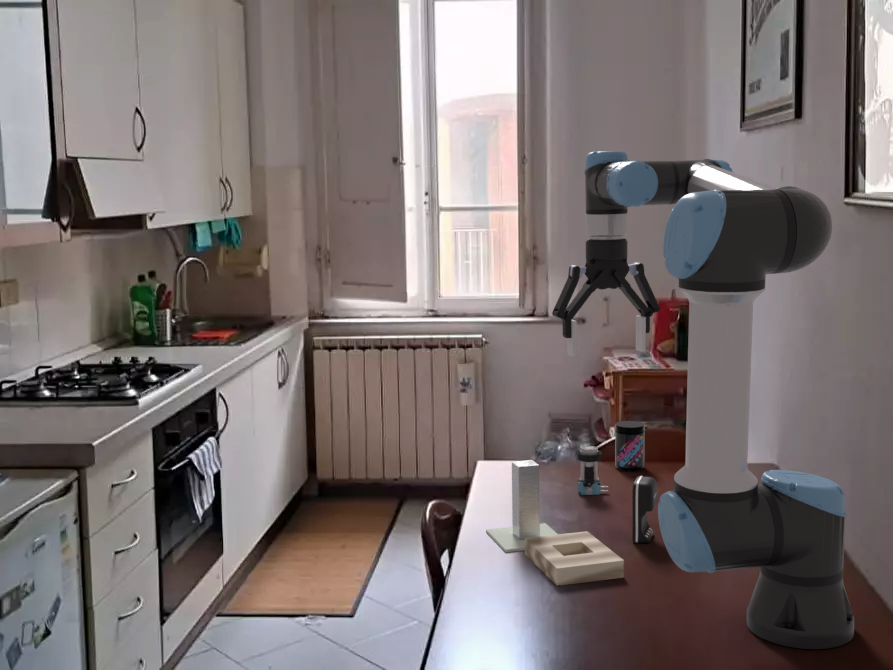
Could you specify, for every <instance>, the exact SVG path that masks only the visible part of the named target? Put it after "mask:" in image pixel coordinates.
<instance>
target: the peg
mask: <svg viewBox="0 0 893 670" xmlns="http://www.w3.org/2000/svg"><path fill="white" fill-rule="evenodd" d="M540 498H541V497H540V465H539V464H538V463H537V462H535V461H534V460H533V459H528V460H527V459H526V460H517V461H511V501H512V502H511V503H512V505H511V506H512V507H511V508H512V510H511V511H512V512H511V513H512V514H511V515H512V519H511V520H512V527H513V535H514V536H515V537H517V538H518V539H519V540H525V538H531V537H540V524H541V521H540V517H541V516H540V515H541V513H540V509H541V508H540V505H541V504H540Z"/></svg>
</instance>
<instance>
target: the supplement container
mask: <svg viewBox="0 0 893 670" xmlns="http://www.w3.org/2000/svg"><path fill="white" fill-rule="evenodd" d="M645 429H646V426H645V423H644V422H642V421H638V420H637V421H635V420H623V421H621V420H620V421H617V422H615V425H614V432H615V434H614V435H615V436H614V437H615V438H614V439H615V442H614V443H615V444H614V448H615V449H614V451H615V452H614V453H615V454H614V455H615V456H614V457H615V458H614V460H615V461H614V464H615V466H614V467H616V469H617V470H619V471H623V472H637V471H641V470H643V469H644V467H645V431H646V430H645Z"/></svg>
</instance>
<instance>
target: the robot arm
mask: <svg viewBox="0 0 893 670" xmlns="http://www.w3.org/2000/svg"><path fill="white" fill-rule="evenodd" d="M584 178H585V182H584V183H585V235H586V236H587V237H589V238H587V239H586V241H585V265H584V266H579V265H573V264H571V265H570V266H569V268H568V276H567V279H566V281H565V284H564V286H563V288H562V290H561V292H560V295H559V297H558V299H557V301H556V304H555V305H554V308H553V310H552V312H551V315H552V316H553V317H556V318H559V319H561V320H562V336H563V338H565V339H566V344H567V345H566V346H567V348H566V349H567V350H566V351H567V356H570V357H572V358H575V357H577V355H578V353H577V351H578V349H577V346H578V343H577V341H578V339H577V338H578V337H577V333H578V332H577V330H578V329H577V327H578V326H577V324H578V322H577V320H575V319H574V317H575V316H576V315H577V314H578V312H579V311H580V310H581V308H582V307H583V306H584V304H585V303H587V301H588V299H589V298H590V296H591V294H593V293H595V292H596V290H606V289H610V290H615V289H616V290H617V289H619V290H620V291H621V292H622V293H623V295H624V296H625V297H626V298H627V300H629V302H630V303H631V304H632V306H633V307H634V308H635V309H636V311H638V313H639V314H640V315H635V351H638V352H641V353H646V352H647V351H646V347H647V345H646V341H647V340H646V339H647V337H646V334H649V333H650V331H651V317H652V316H653V315H654V314H655V313H660V310H661V307H660V305H659V303H658V301H657V299H656V296H655V294H654V292H653V290H652V288H651V286H650V283H649V282H648V279H647V277H646V274H645V265H644V264H643V263H641V262H637V261H636V262H633V263H631V264H629V262H628V240H627V238H625V236H627V235H628V212H629V211H628V208H630V207H640V206H660V205H661V206H662V205H664V206H665V205H674V207H673V208H672V210H671V211H670V213H669V216H668V218H667V221H666V225H665V229H664V234H663V242H662V243H663V244H662V245H663V246H662V250H663V251H662V252H663V253H662V255H663V258H665V260H664V264H665V268H666V270H667V272H668V274H669V275H670V276H672V277H673V278H676V279H678V290H679V291H680V292H681V293H682V294H683V295H684V296H685V298H687V299H688V305H689V307H688V308H689V309H688V310H689V311H688V339H687V340H688V342H687V343H688V344H687V346H688V347H687V377H686V378H687V381H686V382H687V383H686V386H687V388H686V422H685V423H686V424H685V428H686V429H685V459H684V460H685V464H684V466H683V467H681V468H680V469H679V470H678V471H677V472H676V473H675V474H674V476H673V477H674V478H673V490H668V491H666V492H664V493H662V494H661V495H660V497H659V500H658V505H657V516H658V517H657V518H658V524H659V529H660V534H661V537H662V540H663V544H664V546H665V548H666V551H667V553H668V555H669V557H670V558H671V560H672V562H674V564H675V566H677V567H678V568H679V569H680V570H682V571H683V572H688V573H710V574H714V573H715V572H721V571H731V570H741V569H750V568H751V569H752V568H759V576H758V579H757V581H756V584H755V586H754V589H753V592H752V595H751V598H750V600H749V601H750V602H749V603H748V605H747V609H746V625H747V627H748V629H749V631H751V633H753V634H754V635H755V636H757V637H759V638H760V639H763V640H764V641H766V642H767V641H768V642H770V643H773V644H776V645H780V646H784V647H789V648H794V649H803V650H805V649H806V650H822V649H824V650H825V649H833V648H837V647H840V646H843V645H846V644H847V643H849V642H850V641H852V640H853V638H854V636H855V616H854V613H853V610H852V607H851V604H850V601H849V598H848V595H847V591H846V587H845V585H844V553H845V531H846V529H845V527H846V517H847V512H846V510H847V509H846V508H847V507H846V497H845V496H846V495H845V492H844V490H843V488H842V486H840V485H839V484H838V483H837V482H835V481H833V480H831V479H829V478H827V477H823V476H820V475H816V474H813V473H808V472H804V471H803V472H802V471H797V470H790V469H789V470H787V469H770V470H767V471H764V472H763V473H762V475H761V478H760V484H759V480H758V478H757V476H755V475H754V474H753V472H752V471H750V470H749V468H748V459H749V458H748V457H749V432H750V431H749V430H750V429H749V428H750V426H749V425H750V398H751V378H752V377H751V372H752V371H751V370H752V348H753V347H752V345H753V344H752V343H753V339H752V338H753V321H754V320H753V318H754V316H753V315H754V301H756V299H757V298H758V297H759V296H761V294H763V293H764V292H765V291H766V277H767V276H766V275H774V274H775V275H776V274H786V273H792V272H796V271H799V270H801V269H803V268H806V267H808V266H810V265H811V264H812V263H814V262H815V261H816V260H818V258H819V257H820V256H821V255H822V254H823V253H824V251H825V250H826V249H827V246H828V245H829V242H830V240H831V237H832V233H833V220H832V216H831V215H832V214H831V213H830V210H829V208H828V206H827V204H826V203H825V202H824V201H823V200H822V199H821V197H819V196H818V195H816V194H815V193H813V192H811V191H808V190H805V189H802V188H798V187H796V186H791V185H789V186H788V185H786V186H780V187H774V186H772V185H769V184H766V183H764V182H761V181H758V180H755V179H753V178H750V177H748V176H747V177H746V176H744V175H741V174H739V173H736V172H733V169H732V167H731V166H730V164H729V162H727V161H725V160H721V159H710V158H704V159H696V160H695V159H694V160H693V159H691V160H690V159H687V160H637V159H636V160H629V159H628V154H627V153H626V152H625V151H623V150H621V151H619V150H608V151H605V150H603V151H592V152H588V153H587V155H586V157H585V168H584ZM629 273H630V274H631V275H632V276H633V279H634V281H635V284H636V285H637V288H638V289H639V291H640V293H641V296H642V298H643V300H644V301H643V300H642V298H640V296H639V295H638V293H637V292H636V291H635V290H634V289H633V288H632V286H631V284H630V282H629V281H628V280H627V278H626V276H628V274H629ZM583 275H585V276H586V280H585V282H584V283H583V284H582V287H581V289H580V290H579V291H578V293H577V294H576V295H575V297H574V298H573V299H572V297H573V294H574V293H575V290H576V288H577V286H578V283H579V281H580V279H581V278H582V277H583ZM571 299H572V300H571ZM570 301H571V302H570Z"/></svg>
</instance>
